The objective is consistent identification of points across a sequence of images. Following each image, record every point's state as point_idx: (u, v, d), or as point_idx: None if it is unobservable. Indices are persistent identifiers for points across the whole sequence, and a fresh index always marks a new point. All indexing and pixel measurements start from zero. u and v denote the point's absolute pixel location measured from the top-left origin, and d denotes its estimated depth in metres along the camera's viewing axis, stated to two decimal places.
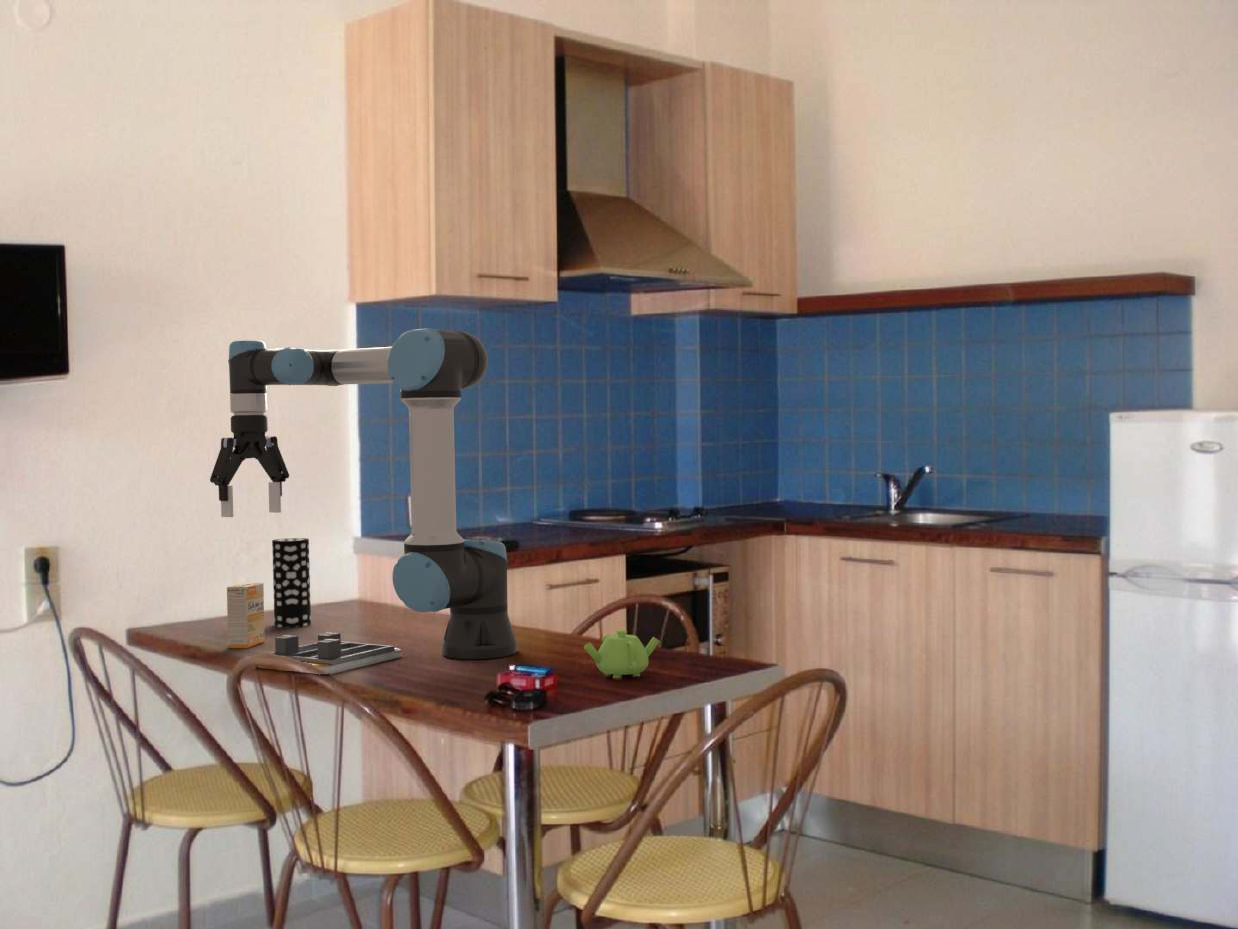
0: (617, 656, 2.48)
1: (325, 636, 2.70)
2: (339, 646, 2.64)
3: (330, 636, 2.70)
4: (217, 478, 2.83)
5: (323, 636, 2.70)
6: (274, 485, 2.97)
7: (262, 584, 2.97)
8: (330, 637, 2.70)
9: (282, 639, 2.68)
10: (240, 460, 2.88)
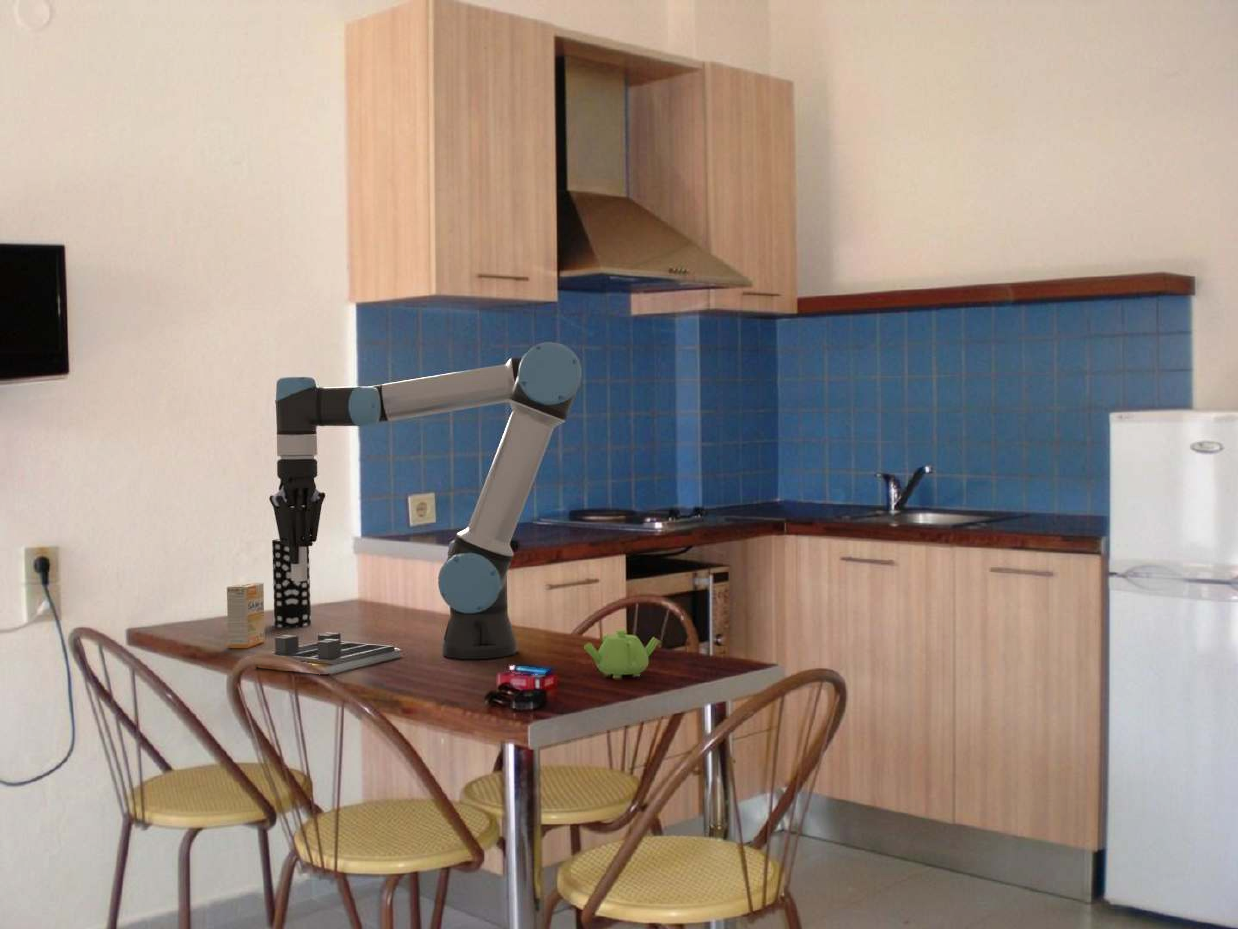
0: (617, 656, 2.48)
1: (325, 636, 2.70)
2: (339, 646, 2.64)
3: (330, 636, 2.70)
4: (288, 542, 2.61)
5: (323, 636, 2.70)
6: None
7: (262, 584, 2.97)
8: (330, 637, 2.70)
9: (282, 639, 2.68)
10: (298, 513, 2.63)
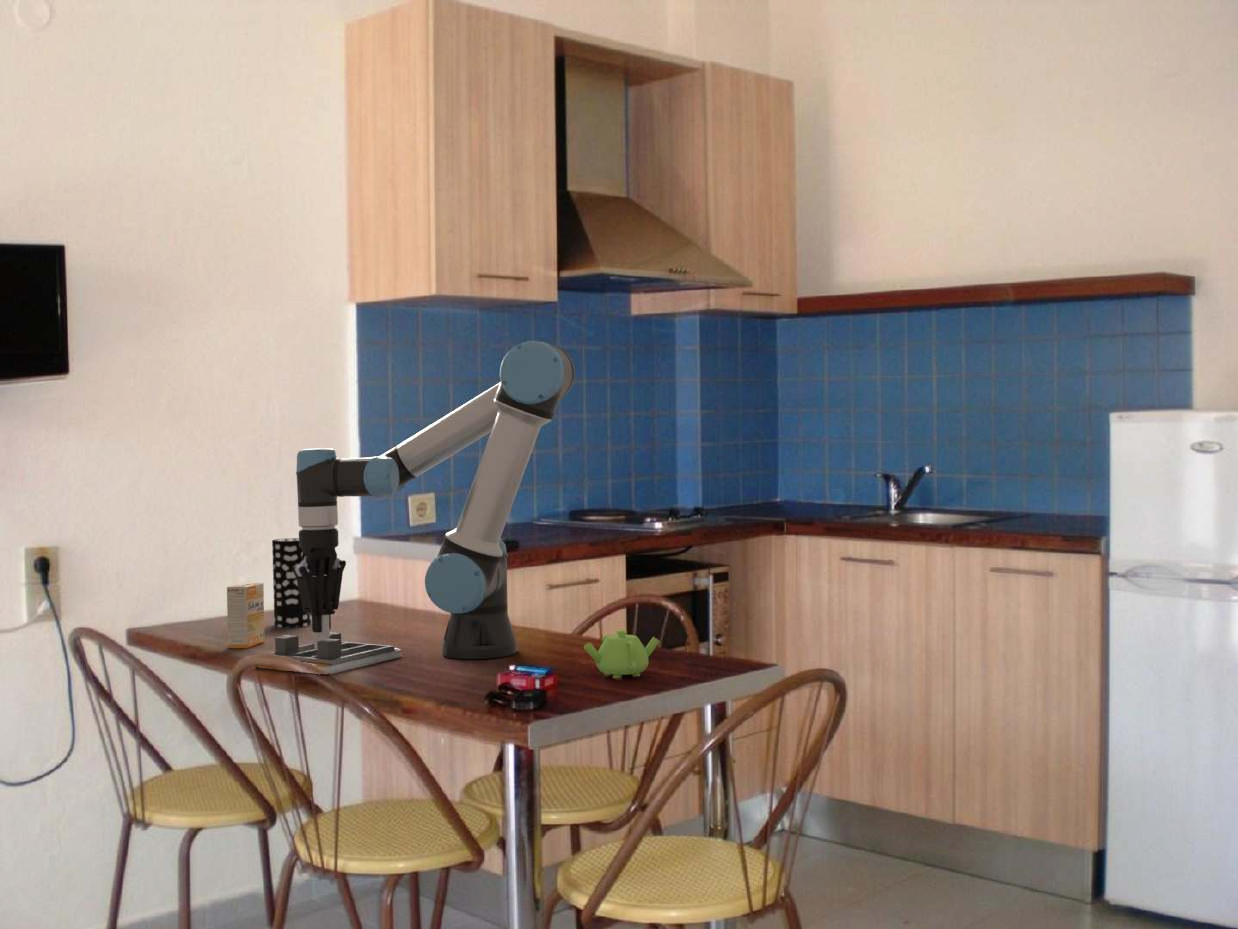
0: (617, 656, 2.48)
1: None
2: (339, 646, 2.64)
3: (331, 636, 2.70)
4: (311, 611, 2.66)
5: None
6: None
7: (262, 584, 2.97)
8: (331, 637, 2.70)
9: (282, 639, 2.68)
10: (320, 582, 2.67)
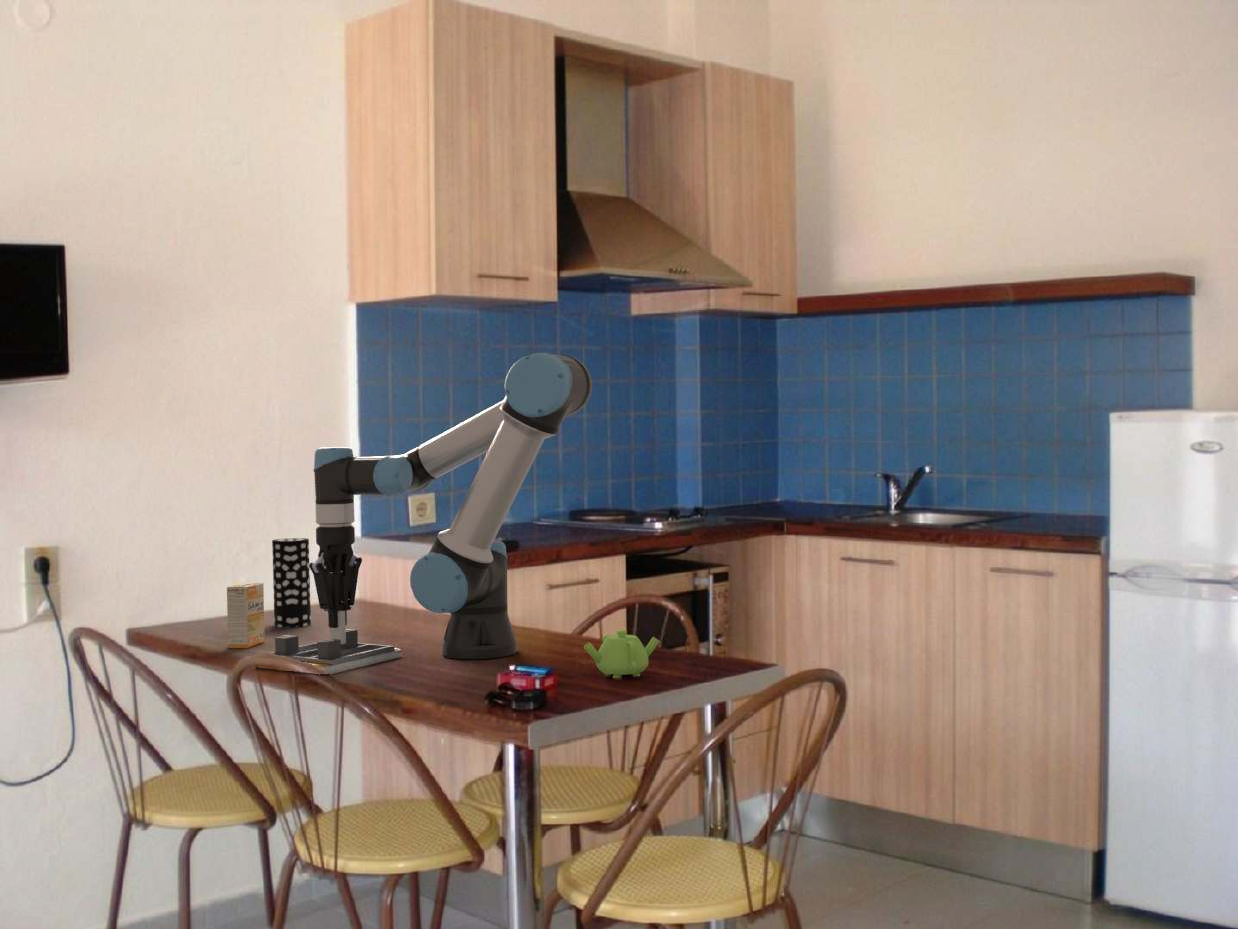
0: (617, 656, 2.48)
1: None
2: (339, 646, 2.64)
3: (347, 632, 2.74)
4: (327, 607, 2.70)
5: None
6: None
7: (262, 584, 2.97)
8: (348, 633, 2.74)
9: (282, 639, 2.68)
10: (336, 579, 2.72)
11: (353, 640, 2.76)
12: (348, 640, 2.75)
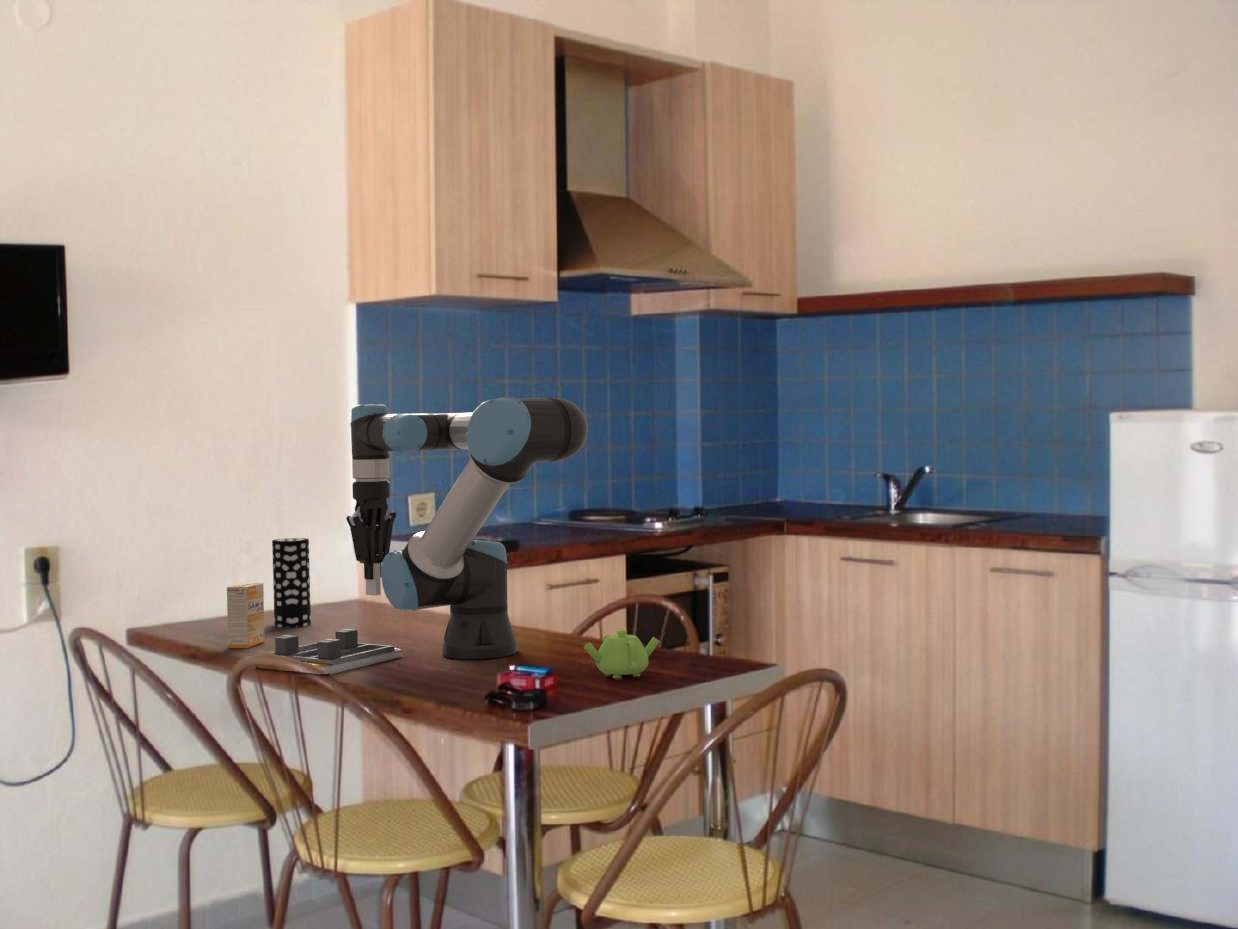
0: (617, 656, 2.48)
1: (342, 632, 2.74)
2: (339, 646, 2.64)
3: (347, 632, 2.74)
4: (363, 559, 2.79)
5: (341, 632, 2.74)
6: None
7: (262, 584, 2.97)
8: (348, 633, 2.74)
9: (282, 639, 2.68)
10: (372, 532, 2.81)
11: (353, 640, 2.76)
12: (348, 640, 2.75)
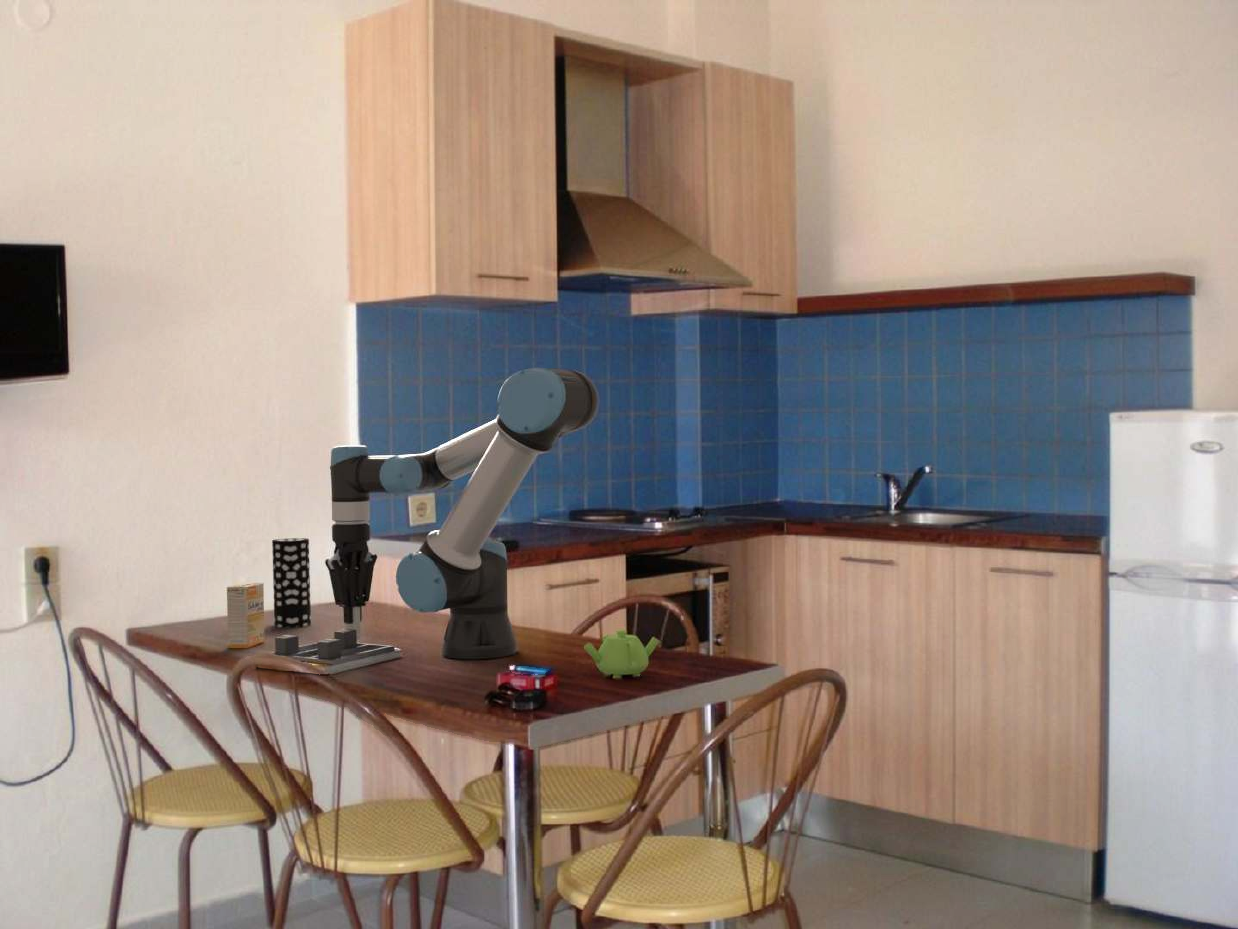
0: (617, 656, 2.48)
1: (341, 633, 2.74)
2: (339, 646, 2.64)
3: (346, 633, 2.74)
4: (342, 603, 2.74)
5: (339, 633, 2.74)
6: None
7: (262, 584, 2.97)
8: (346, 634, 2.74)
9: (282, 639, 2.68)
10: (352, 575, 2.76)
11: (351, 640, 2.75)
12: (347, 640, 2.74)
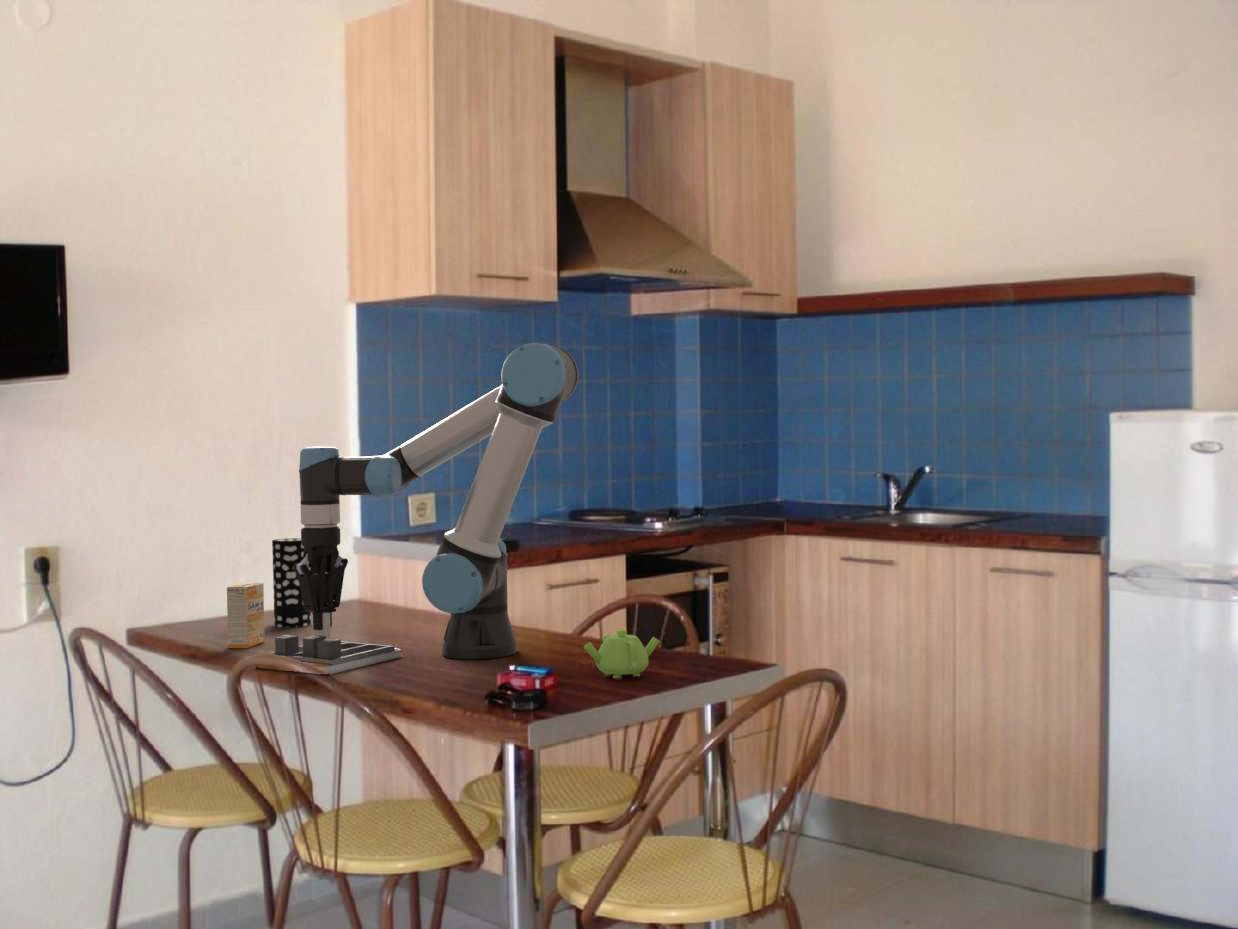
0: (617, 656, 2.48)
1: (310, 639, 2.66)
2: (339, 646, 2.64)
3: (315, 639, 2.67)
4: (312, 609, 2.67)
5: (308, 639, 2.67)
6: None
7: (262, 584, 2.97)
8: (315, 640, 2.67)
9: (282, 639, 2.68)
10: (321, 580, 2.68)
11: None
12: (316, 647, 2.67)
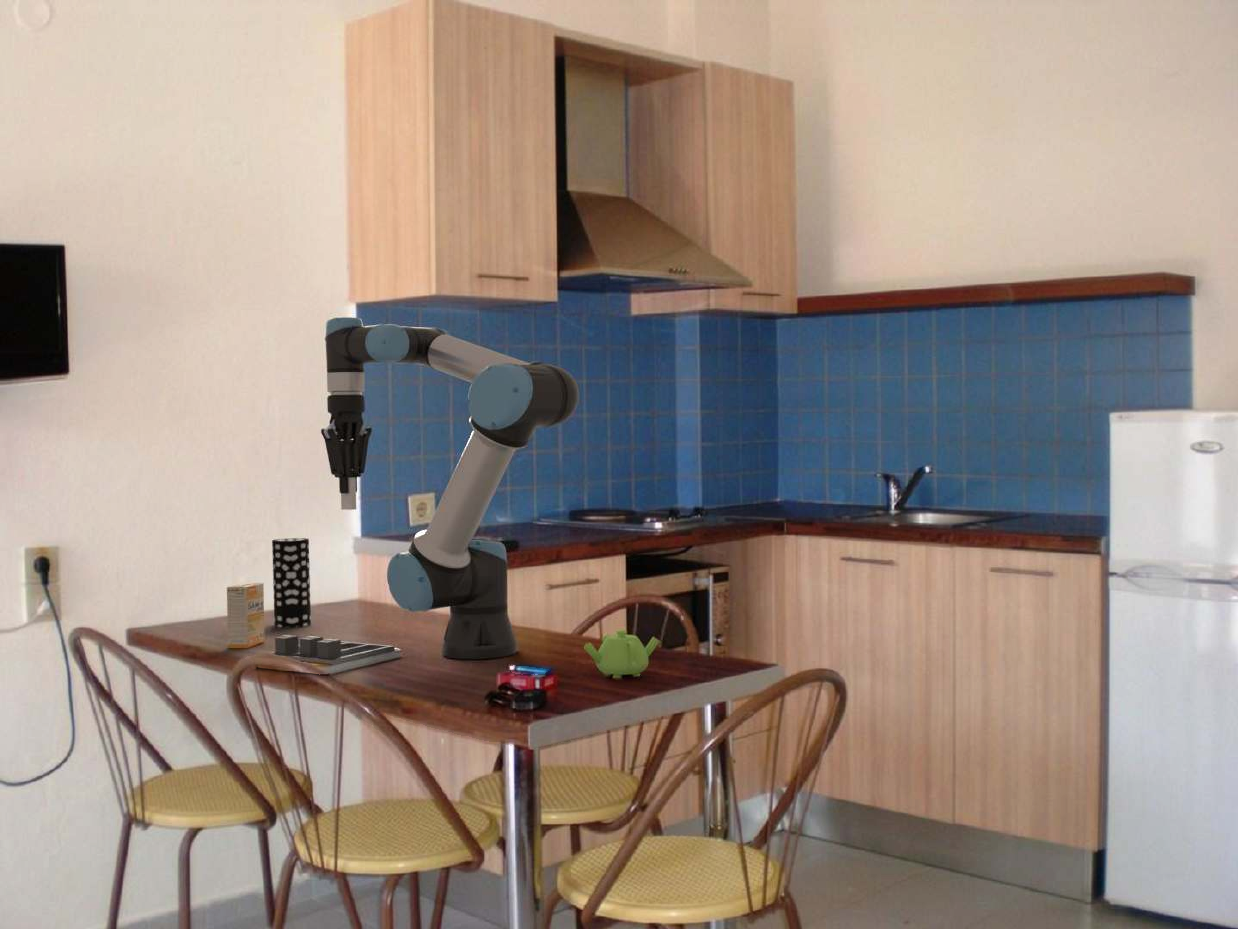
0: (617, 656, 2.48)
1: (307, 640, 2.66)
2: (339, 646, 2.64)
3: (312, 640, 2.66)
4: (338, 472, 2.78)
5: (305, 640, 2.66)
6: None
7: (262, 584, 2.97)
8: (312, 641, 2.66)
9: (282, 639, 2.68)
10: (347, 445, 2.80)
11: None
12: (313, 647, 2.66)
